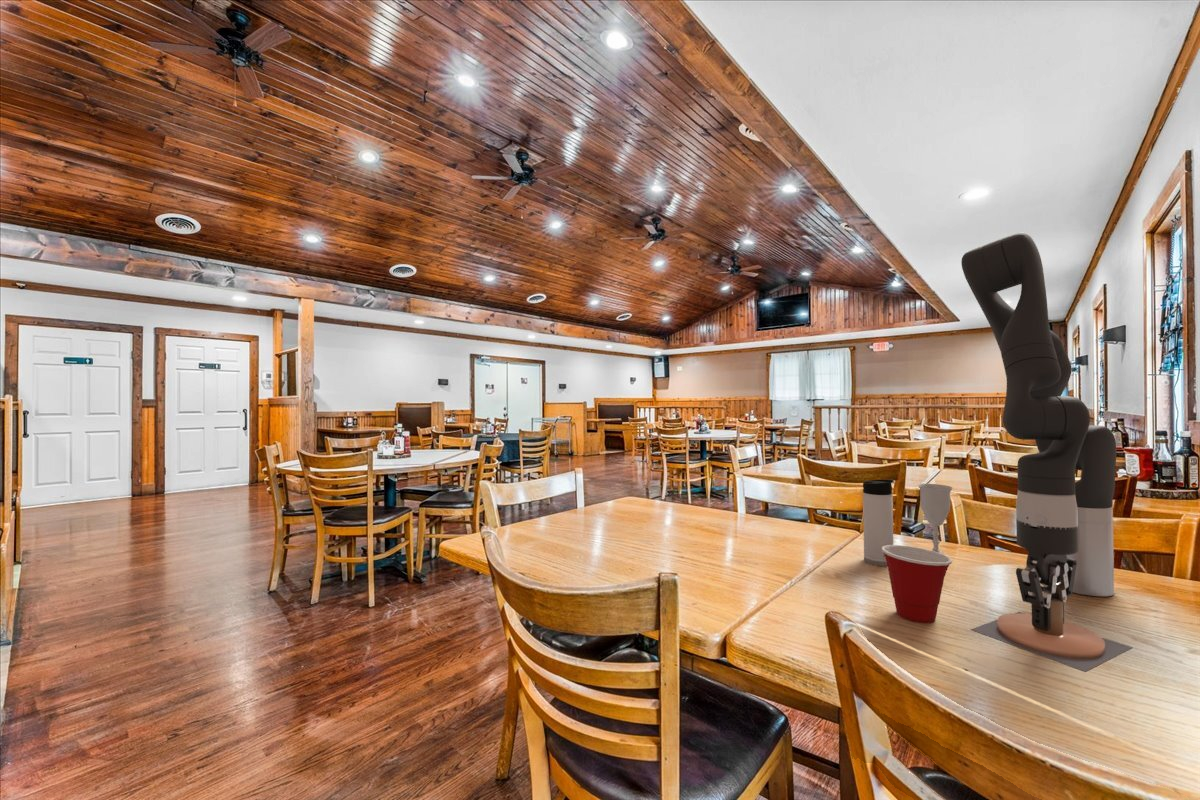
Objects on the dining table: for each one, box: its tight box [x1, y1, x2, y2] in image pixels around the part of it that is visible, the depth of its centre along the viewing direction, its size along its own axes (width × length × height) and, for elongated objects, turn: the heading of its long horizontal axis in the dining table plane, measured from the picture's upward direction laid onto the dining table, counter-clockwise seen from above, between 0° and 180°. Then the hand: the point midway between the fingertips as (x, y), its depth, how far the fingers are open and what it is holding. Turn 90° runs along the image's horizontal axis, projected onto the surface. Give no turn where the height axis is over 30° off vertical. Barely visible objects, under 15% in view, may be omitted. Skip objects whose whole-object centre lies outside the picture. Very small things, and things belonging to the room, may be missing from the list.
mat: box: [970, 611, 1134, 673], centre depth 82 cm, size 15×15×1 cm
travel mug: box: [862, 478, 895, 567], centre depth 122 cm, size 6×7×20 cm
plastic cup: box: [882, 544, 953, 624], centre depth 92 cm, size 11×11×12 cm
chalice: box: [917, 483, 953, 555], centre depth 122 cm, size 7×7×18 cm
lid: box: [996, 595, 1105, 658], centre depth 82 cm, size 13×13×6 cm
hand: (1048, 625), depth 82 cm, fingers closed on lid, 3 cm apart
